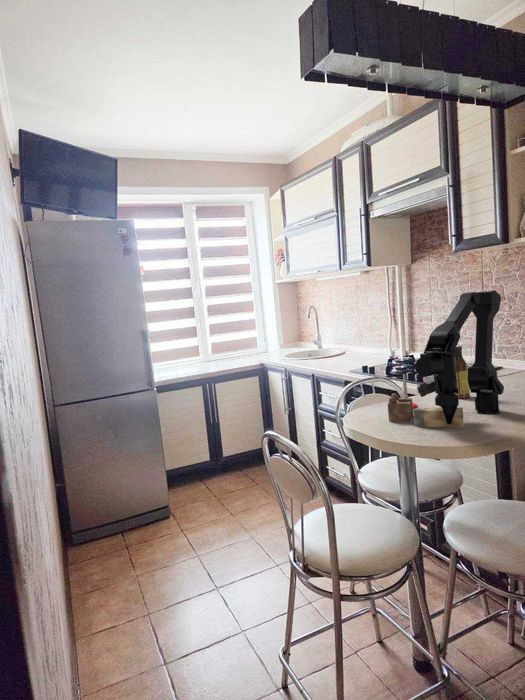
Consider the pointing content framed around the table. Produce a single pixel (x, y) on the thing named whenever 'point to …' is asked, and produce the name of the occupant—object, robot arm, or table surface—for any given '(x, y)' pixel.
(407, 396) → the tow hook
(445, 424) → the bed rail
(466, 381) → the sauce bottle
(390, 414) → the arched block with knobs
